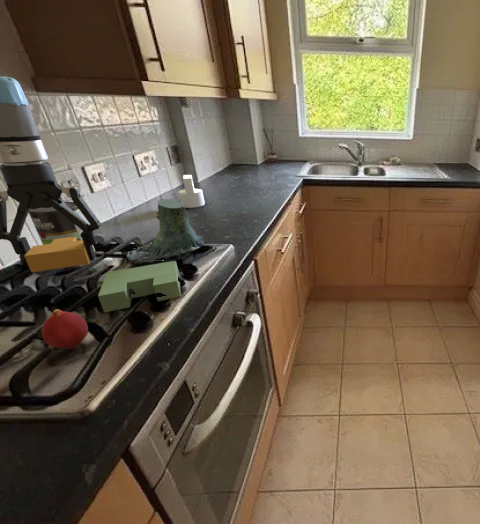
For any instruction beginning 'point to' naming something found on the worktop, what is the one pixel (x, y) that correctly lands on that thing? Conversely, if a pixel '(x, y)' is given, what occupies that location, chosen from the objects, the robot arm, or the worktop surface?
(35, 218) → the coffee can
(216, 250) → the worktop surface
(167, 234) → the tree stump
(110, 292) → the green notched block
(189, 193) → the base with upright slab
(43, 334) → the onion
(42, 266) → the ochre pad
